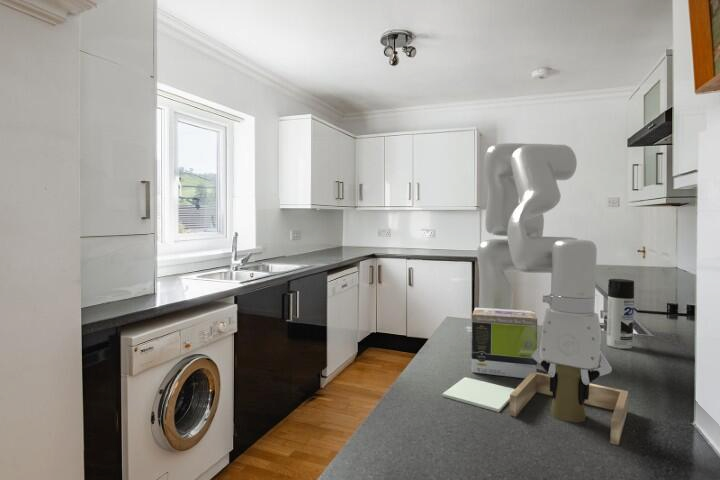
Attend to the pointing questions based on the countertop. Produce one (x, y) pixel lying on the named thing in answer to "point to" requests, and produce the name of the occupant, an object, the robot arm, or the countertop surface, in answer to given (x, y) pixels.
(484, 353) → the tea box
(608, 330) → the spray can
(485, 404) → the mat
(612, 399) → the wooden u-shaped frame
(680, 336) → the countertop surface
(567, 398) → the cork
